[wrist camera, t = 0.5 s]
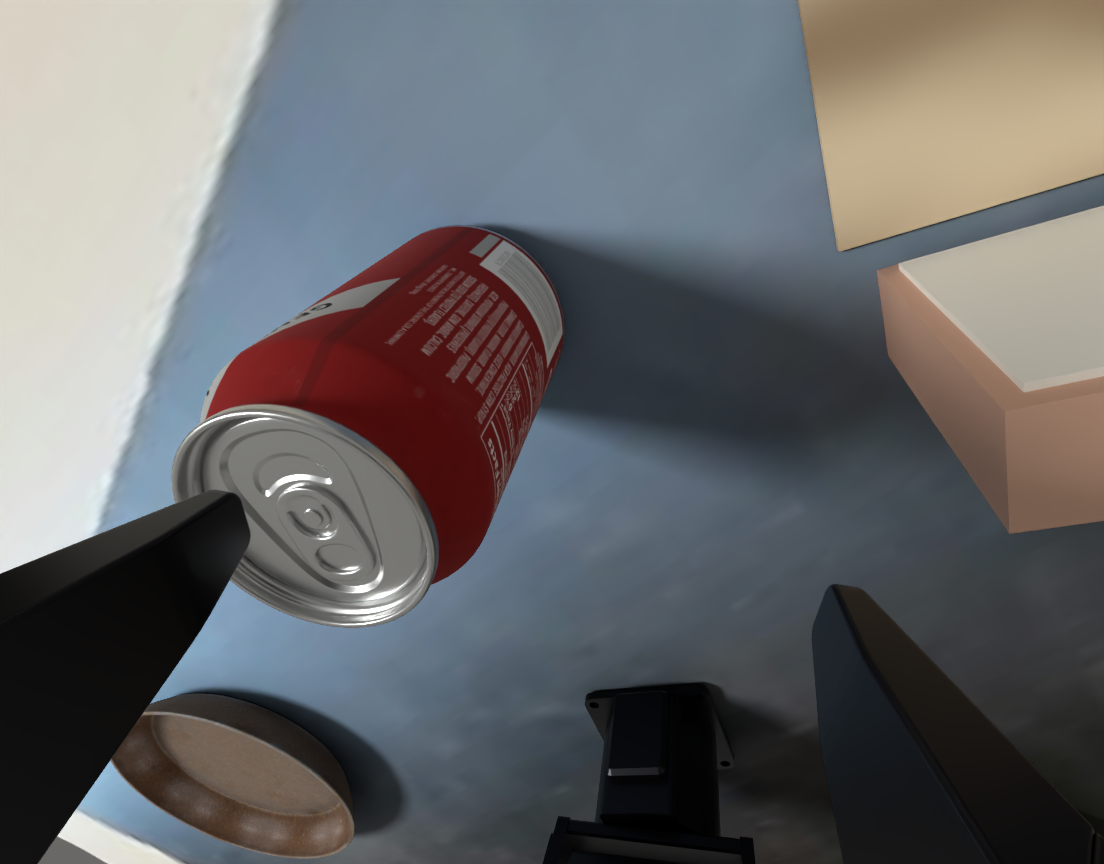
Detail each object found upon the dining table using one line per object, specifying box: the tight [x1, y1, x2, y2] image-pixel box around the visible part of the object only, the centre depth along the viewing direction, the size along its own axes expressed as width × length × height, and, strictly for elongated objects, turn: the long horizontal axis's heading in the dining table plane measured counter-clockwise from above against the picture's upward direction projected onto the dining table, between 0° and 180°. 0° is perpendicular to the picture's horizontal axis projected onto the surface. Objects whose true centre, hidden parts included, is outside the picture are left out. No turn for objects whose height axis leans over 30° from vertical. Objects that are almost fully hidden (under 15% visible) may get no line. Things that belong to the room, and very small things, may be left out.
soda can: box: [172, 225, 564, 628], centre depth 17 cm, size 7×7×12 cm
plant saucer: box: [110, 693, 355, 858], centre depth 42 cm, size 18×18×3 cm
